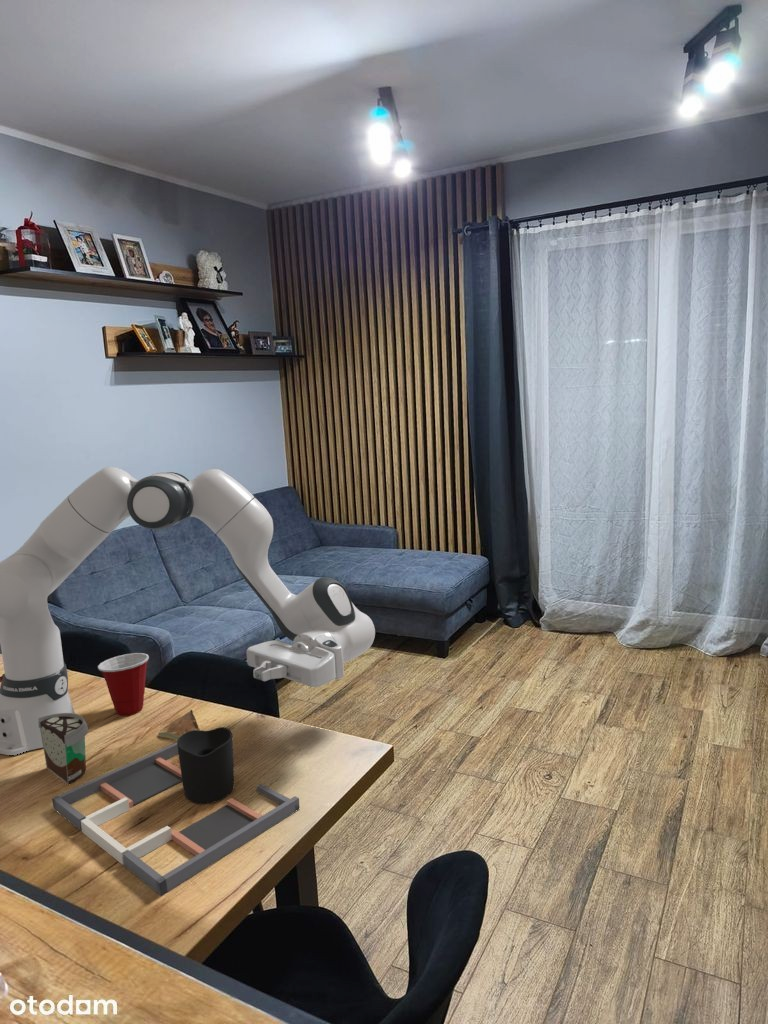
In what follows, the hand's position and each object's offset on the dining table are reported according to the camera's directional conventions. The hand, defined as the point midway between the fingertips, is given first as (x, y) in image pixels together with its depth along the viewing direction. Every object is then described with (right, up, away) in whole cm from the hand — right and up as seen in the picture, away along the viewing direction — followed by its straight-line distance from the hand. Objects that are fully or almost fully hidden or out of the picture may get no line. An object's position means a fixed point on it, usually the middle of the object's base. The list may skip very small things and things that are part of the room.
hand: (258, 675), depth 129 cm
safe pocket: (-18, -21, -18) cm, 33 cm away
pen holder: (-7, -19, -6) cm, 21 cm away
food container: (-36, -19, +3) cm, 40 cm away
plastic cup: (-34, -14, +28) cm, 46 cm away
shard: (-20, -16, +18) cm, 31 cm away
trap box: (-12, -20, -11) cm, 26 cm away
